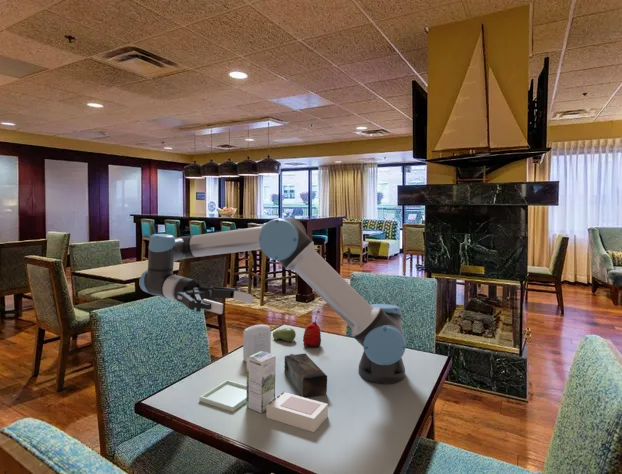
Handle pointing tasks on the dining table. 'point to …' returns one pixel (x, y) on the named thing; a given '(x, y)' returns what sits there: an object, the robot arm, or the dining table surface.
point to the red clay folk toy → (312, 334)
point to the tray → (226, 395)
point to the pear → (284, 334)
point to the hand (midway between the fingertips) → (237, 303)
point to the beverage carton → (305, 375)
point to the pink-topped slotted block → (297, 411)
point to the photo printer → (256, 340)
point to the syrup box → (260, 380)
